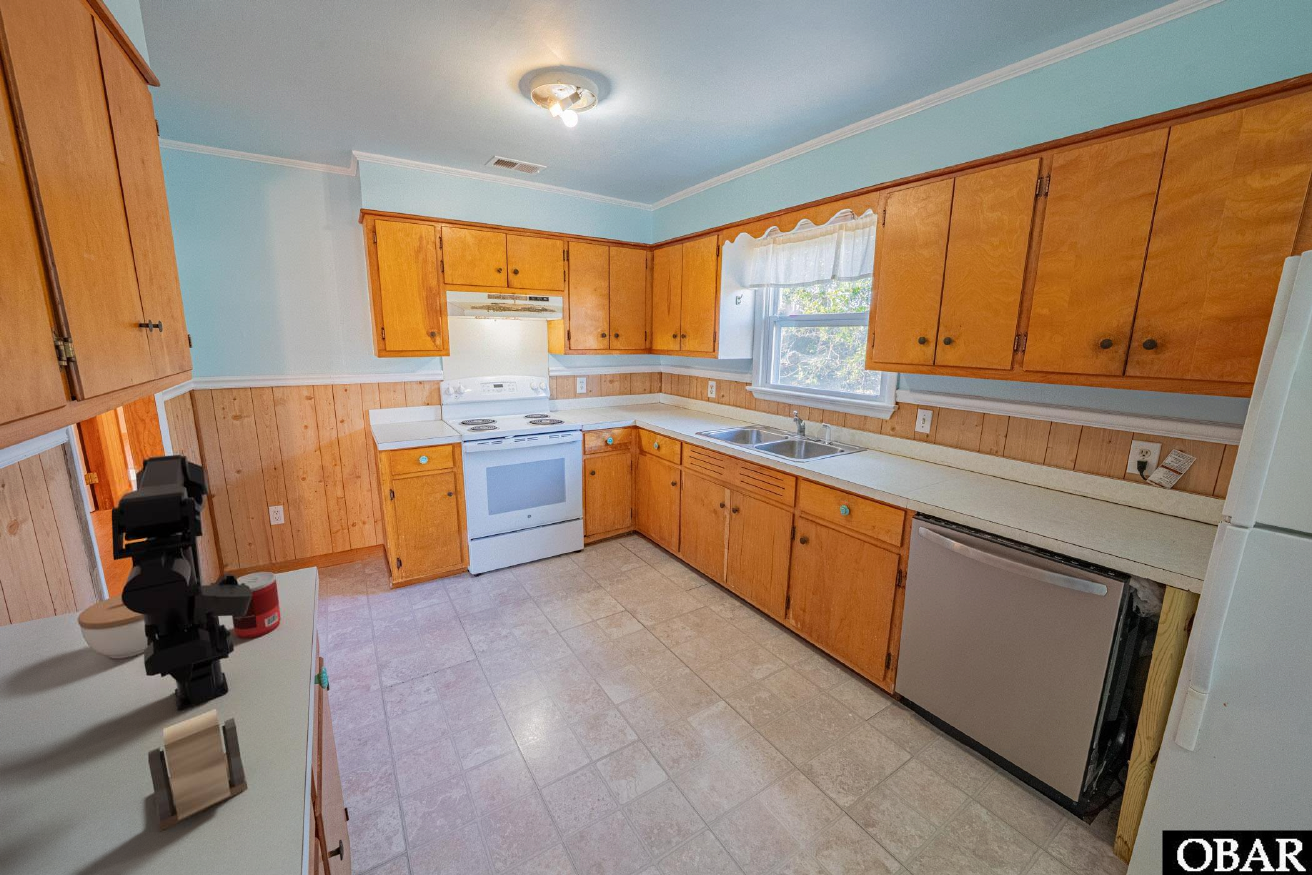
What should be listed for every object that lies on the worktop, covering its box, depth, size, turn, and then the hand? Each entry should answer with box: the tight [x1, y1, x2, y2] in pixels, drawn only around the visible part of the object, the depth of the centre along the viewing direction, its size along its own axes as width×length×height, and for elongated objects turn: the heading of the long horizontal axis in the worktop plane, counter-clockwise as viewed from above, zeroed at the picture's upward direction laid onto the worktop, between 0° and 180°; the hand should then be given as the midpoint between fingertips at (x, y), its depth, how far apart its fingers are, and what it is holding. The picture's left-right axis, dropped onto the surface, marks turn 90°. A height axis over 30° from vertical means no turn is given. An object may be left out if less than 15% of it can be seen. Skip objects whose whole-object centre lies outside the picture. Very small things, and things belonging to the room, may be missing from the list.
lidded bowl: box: [77, 594, 148, 660], centre depth 96 cm, size 13×13×11 cm
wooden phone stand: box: [147, 717, 248, 832], centre depth 67 cm, size 8×9×10 cm
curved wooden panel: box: [162, 708, 230, 820], centre depth 64 cm, size 4×5×11 cm
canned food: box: [231, 571, 282, 639], centre depth 103 cm, size 8×8×11 cm
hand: (185, 681), depth 71 cm, fingers closed
